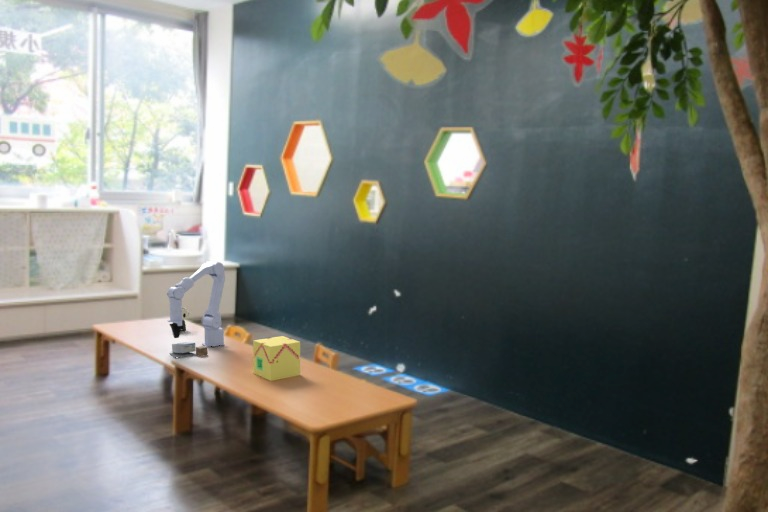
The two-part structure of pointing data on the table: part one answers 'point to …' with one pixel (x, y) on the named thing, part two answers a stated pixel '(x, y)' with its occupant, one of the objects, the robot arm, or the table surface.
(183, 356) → the mat
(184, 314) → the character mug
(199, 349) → the walnut block
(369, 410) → the table surface
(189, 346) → the medicine box
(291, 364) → the toy block
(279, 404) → the table surface
